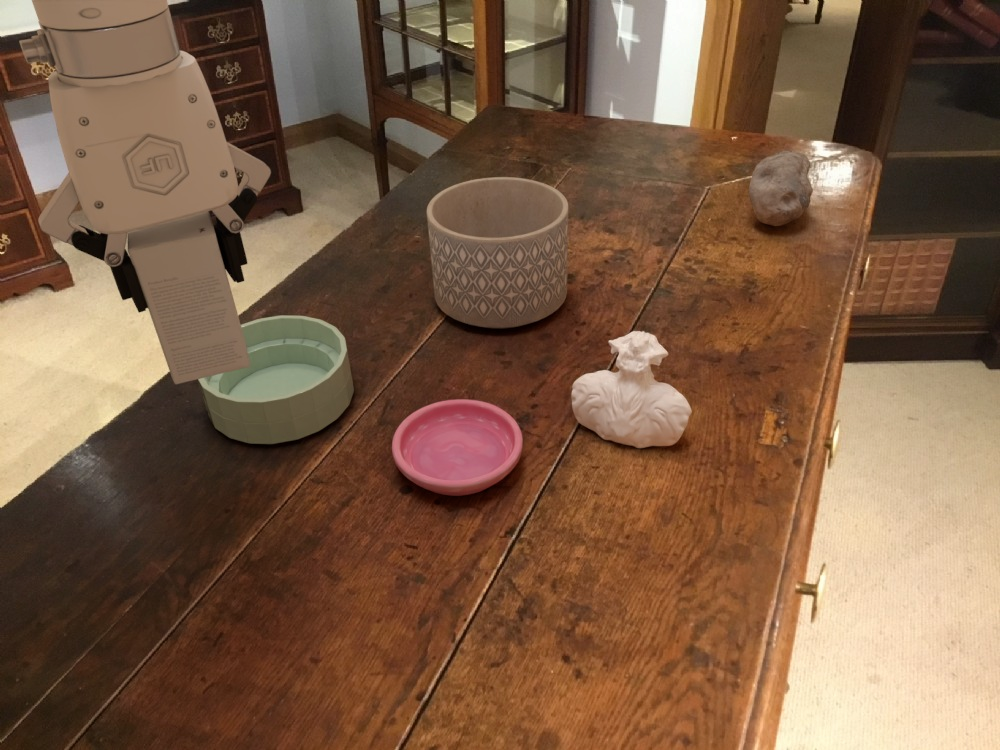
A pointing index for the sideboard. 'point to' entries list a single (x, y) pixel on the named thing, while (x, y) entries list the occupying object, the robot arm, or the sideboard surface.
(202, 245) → the cosmetic box
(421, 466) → the saucer
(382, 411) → the sideboard surface
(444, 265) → the planter
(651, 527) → the sideboard surface
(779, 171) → the stone
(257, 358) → the bowl
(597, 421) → the bust
